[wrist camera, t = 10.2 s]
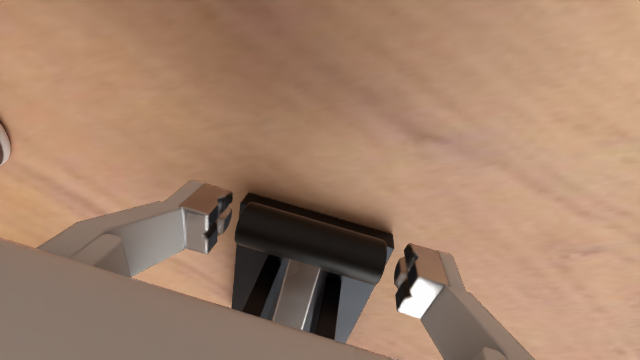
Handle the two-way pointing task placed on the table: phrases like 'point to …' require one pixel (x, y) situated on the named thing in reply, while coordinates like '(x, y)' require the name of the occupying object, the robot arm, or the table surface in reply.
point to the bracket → (330, 291)
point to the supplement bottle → (4, 146)
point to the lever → (308, 254)
